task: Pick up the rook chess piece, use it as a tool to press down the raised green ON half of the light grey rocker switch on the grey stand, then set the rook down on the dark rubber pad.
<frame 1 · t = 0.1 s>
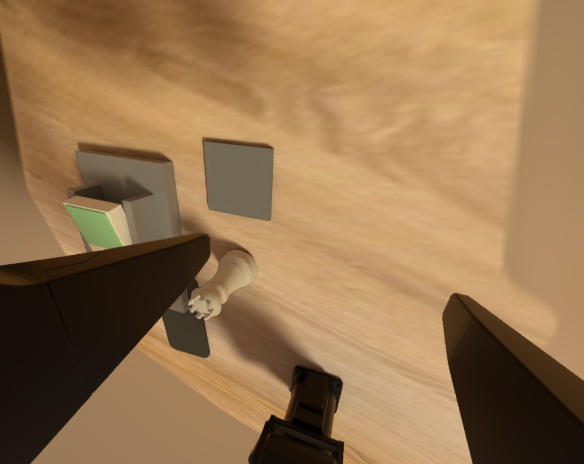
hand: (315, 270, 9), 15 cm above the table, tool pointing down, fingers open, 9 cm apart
rook chess piece: (242, 263, 29), on the table
phone: (185, 312, 37), on the table
rocker: (115, 249, 28), point 4 cm above the table, hinge at -12.0°
grey stand: (144, 234, 32), on the table
rubber pad: (239, 181, 25), on the table
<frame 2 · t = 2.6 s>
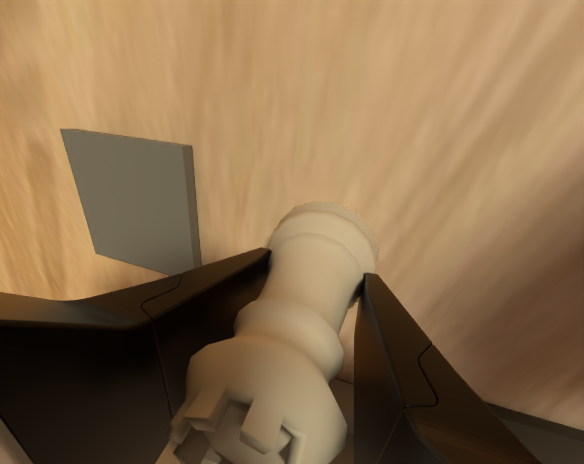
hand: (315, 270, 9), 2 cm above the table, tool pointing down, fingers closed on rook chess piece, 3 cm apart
rook chess piece: (325, 244, 11), on the table, touching gripper
phone: (512, 452, 13), on the table
grey stand: (281, 420, 17), on the table
rubber pad: (141, 206, 13), on the table
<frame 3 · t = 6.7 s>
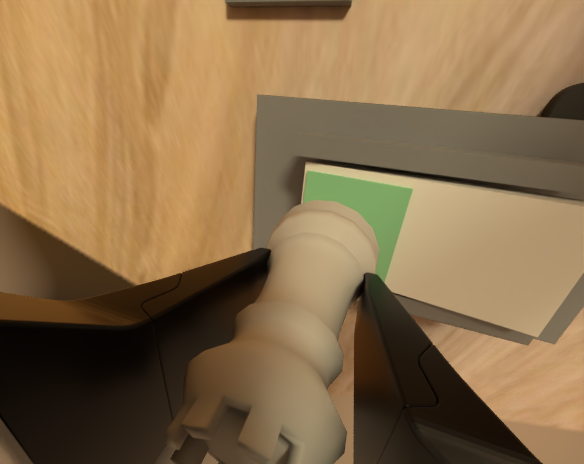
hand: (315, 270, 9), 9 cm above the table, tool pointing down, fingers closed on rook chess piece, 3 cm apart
rook chess piece: (325, 243, 11), point 7 cm above the table, touching gripper
rocker: (414, 239, 12), point 4 cm above the table, hinge at 6.7°
grey stand: (405, 213, 16), on the table
when the fingers open (4 cm above the table, at t = 9.8 s): rook chess piece drops 1 cm, resting on rubber pad.
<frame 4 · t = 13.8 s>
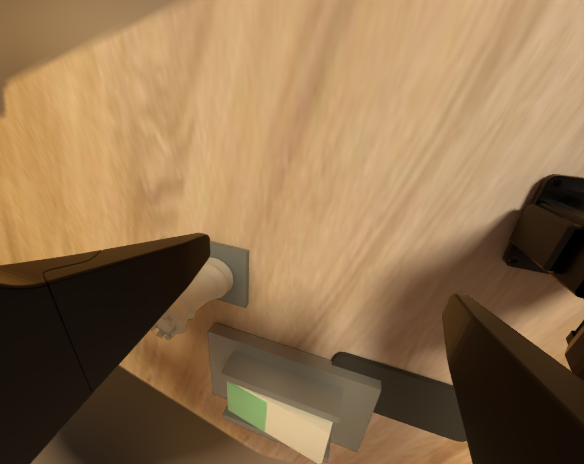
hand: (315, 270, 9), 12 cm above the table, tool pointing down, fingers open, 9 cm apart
rook chess piece: (218, 272, 27), resting on rubber pad
phone: (399, 390, 27), on the table
rocker: (275, 414, 27), point 4 cm above the table, hinge at 7.2°
grey stand: (287, 381, 31), on the table
rubber pad: (219, 271, 27), on the table
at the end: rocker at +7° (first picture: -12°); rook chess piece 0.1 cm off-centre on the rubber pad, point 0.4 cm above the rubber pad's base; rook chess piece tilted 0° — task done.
